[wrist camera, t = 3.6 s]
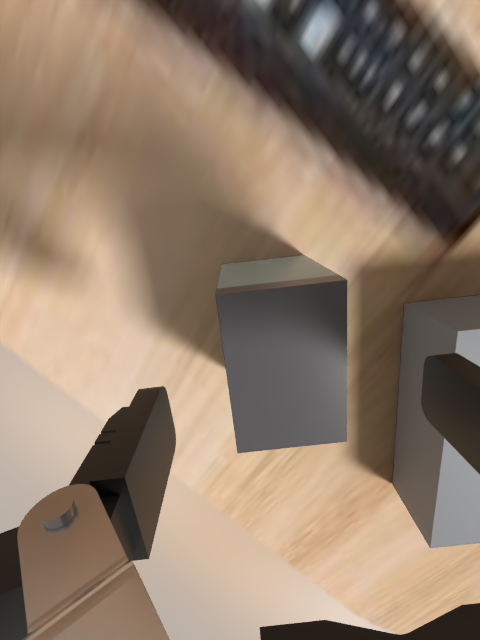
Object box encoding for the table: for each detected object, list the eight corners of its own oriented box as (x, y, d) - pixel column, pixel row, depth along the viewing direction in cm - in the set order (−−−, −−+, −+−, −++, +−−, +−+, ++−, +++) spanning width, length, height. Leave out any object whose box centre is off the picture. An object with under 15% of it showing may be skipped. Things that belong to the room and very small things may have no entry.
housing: (221, 264, 15) (215, 294, 9) (303, 254, 15) (347, 279, 9) (235, 373, 17) (237, 453, 11) (308, 365, 17) (346, 441, 11)
